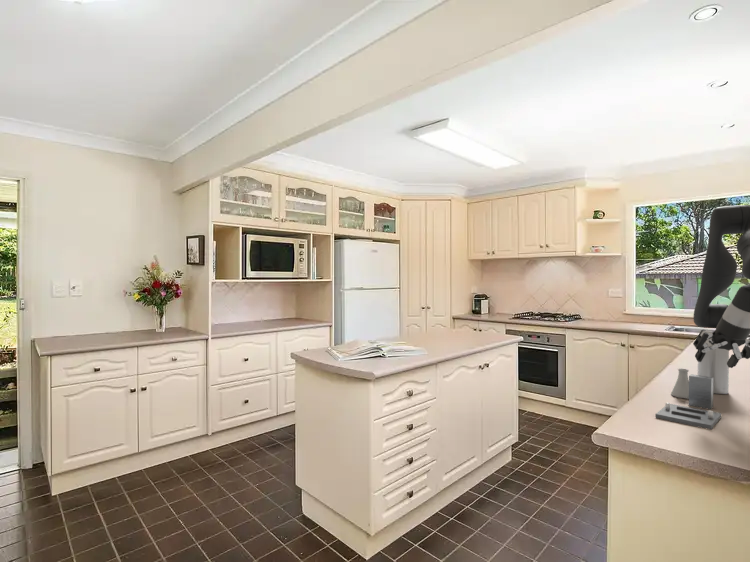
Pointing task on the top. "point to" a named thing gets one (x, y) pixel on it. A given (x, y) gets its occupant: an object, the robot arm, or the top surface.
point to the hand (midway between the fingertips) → (713, 363)
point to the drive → (701, 391)
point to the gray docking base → (689, 415)
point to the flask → (681, 384)
